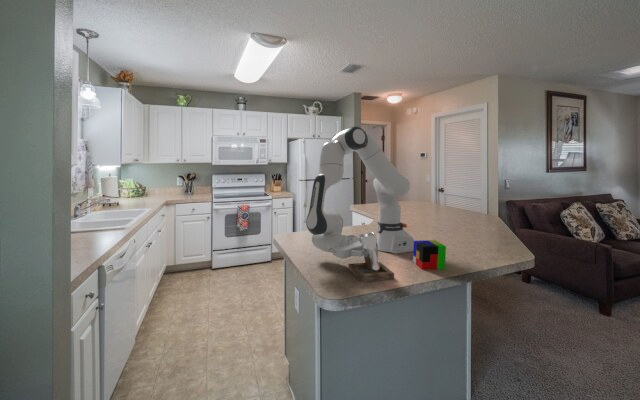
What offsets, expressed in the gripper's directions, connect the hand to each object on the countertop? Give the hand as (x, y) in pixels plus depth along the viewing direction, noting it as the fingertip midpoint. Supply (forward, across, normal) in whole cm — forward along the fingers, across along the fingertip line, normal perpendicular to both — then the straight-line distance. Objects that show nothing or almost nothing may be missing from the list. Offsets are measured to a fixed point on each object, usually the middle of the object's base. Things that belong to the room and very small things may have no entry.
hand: (368, 251), depth 123 cm
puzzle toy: (+13, +27, +9) cm, 31 cm away
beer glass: (+1, +2, +8) cm, 8 cm away
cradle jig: (+1, 0, +9) cm, 9 cm away
